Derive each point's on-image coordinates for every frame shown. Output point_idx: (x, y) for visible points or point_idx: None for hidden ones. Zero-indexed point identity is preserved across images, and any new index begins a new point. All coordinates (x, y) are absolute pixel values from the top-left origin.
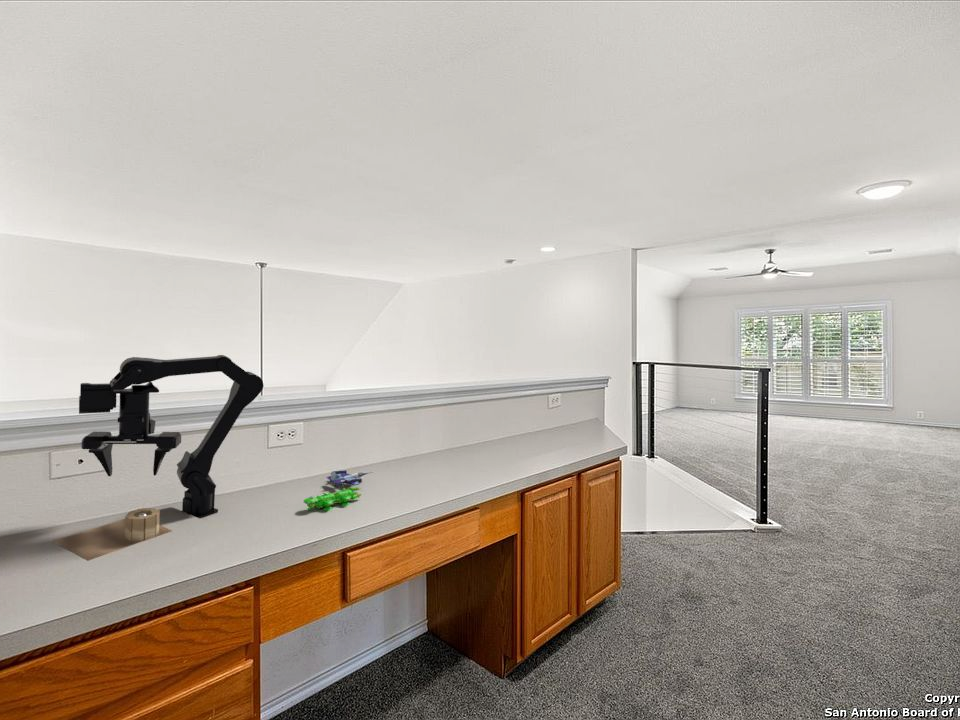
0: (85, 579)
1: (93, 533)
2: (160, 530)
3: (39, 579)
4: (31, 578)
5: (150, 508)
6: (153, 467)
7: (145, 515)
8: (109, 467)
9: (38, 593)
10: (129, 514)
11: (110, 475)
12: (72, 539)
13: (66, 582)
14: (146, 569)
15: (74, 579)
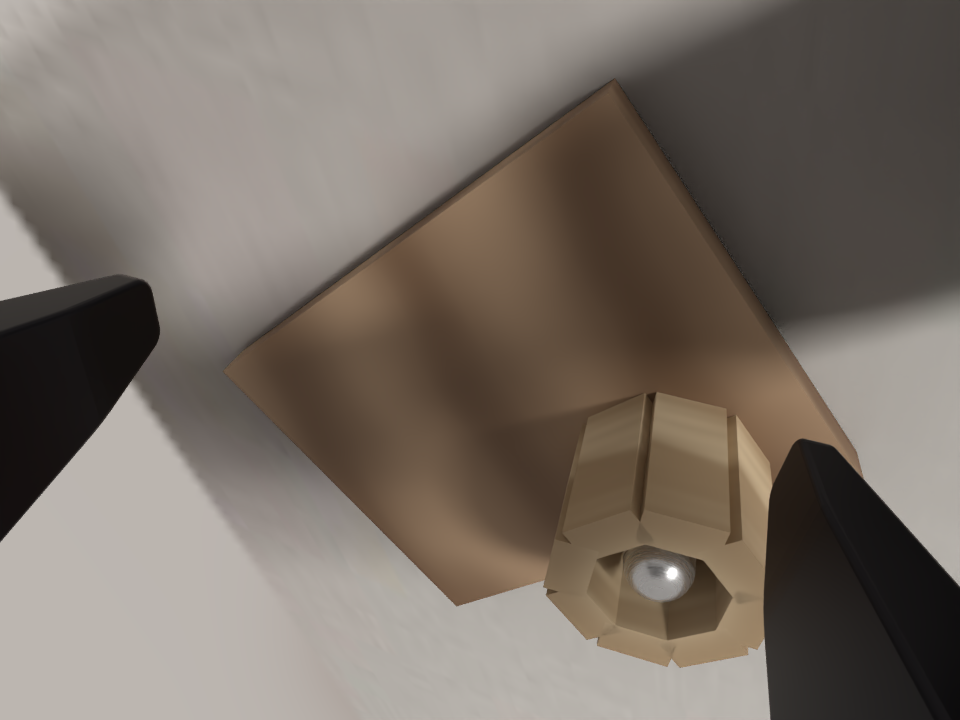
0: (484, 644)
1: (384, 350)
2: (782, 452)
3: (335, 582)
4: (307, 566)
5: (714, 536)
6: (769, 695)
7: (676, 598)
8: (45, 442)
9: (374, 652)
10: (565, 573)
11: (153, 341)
12: (308, 388)
13: (429, 634)
14: (694, 679)
15: (448, 629)
